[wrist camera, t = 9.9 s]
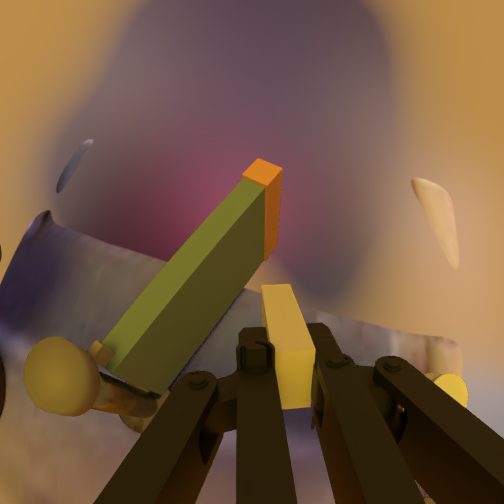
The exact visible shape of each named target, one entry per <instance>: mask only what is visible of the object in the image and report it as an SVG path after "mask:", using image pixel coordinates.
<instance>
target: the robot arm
mask: <svg viewBox="0 0 504 504" xmlns="http://www.w3.org/2000/svg"><path fill="white" fill-rule="evenodd" d="M0 260H1V246H0ZM261 295H262V327H252V328H243V329H242V330H241V332H240V333H239V345H238V346H237V348H236V358H237V370H236V371H235V372H234V373H233V374H231V375H229V376H226V377H223V378H219V379H217V378H216V376H215V375H213V374H212V373H209V372H206V371H194V372H190V373H187V374H185V375H183V376H182V377H181V378H180V379H179V381H178V382H177V384H176V385H175V387H174V388H173V390H172V391H171V393H170V394H169V395H168V397H167V398H166V400H165V401H164V403H163V404H162V406H161V407H160V409H159V410H158V412H157V413H156V414H155V416H154V417H153V419H152V420H151V422H150V423H149V425H148V426H147V427H146V429H145V430H144V432H143V433H142V435H141V436H140V438H139V439H138V440H137V442H136V443H135V445H134V446H133V448H132V449H131V451H130V452H129V453H128V455H127V456H126V458H125V459H124V461H123V462H122V463H121V465H120V466H119V468H118V469H117V471H116V472H115V473H114V475H113V476H112V478H111V479H110V481H109V482H108V483H107V485H106V486H105V488H104V489H103V491H102V492H101V493H100V495H99V496H98V498H97V499H96V500H95V502H94V503H93V504H195V502H196V499H197V497H198V495H199V493H200V490H201V488H202V486H203V483H204V481H205V479H206V476H207V474H208V472H209V469H210V467H211V465H212V462H213V460H214V458H215V455H216V453H217V450H218V448H219V446H220V443H221V441H222V438H223V434H224V432H228V431H231V430H235V429H237V443H236V504H297V498H296V492H295V486H294V479H293V473H292V467H291V461H290V455H289V449H288V443H287V437H286V430H285V424H284V418H283V412H282V409H294V408H305V407H311V397H312V401H313V404H314V407H313V416H312V424H311V429H314V425H315V426H316V430H317V433H318V437H319V441H320V445H321V449H322V452H323V456H324V460H325V464H326V468H327V472H328V476H329V480H330V483H331V487H332V491H333V495H334V499H335V503H336V504H426V503H425V501H424V499H423V497H422V495H421V493H420V491H419V488H418V486H417V484H416V482H415V480H416V481H417V483H418V484H419V485H420V486H421V487H422V488H423V489H424V490H425V492H426V493H427V494H428V495H429V496H430V497H431V498H432V499H433V501H434V502H435V503H436V504H504V439H503V438H502V437H501V436H499V435H498V434H497V433H496V432H495V431H493V430H492V429H491V428H490V427H488V426H487V425H486V424H485V423H483V422H482V421H481V420H480V419H479V418H477V417H476V416H475V415H473V414H472V413H471V412H470V411H469V410H467V409H466V408H465V407H464V406H462V405H461V404H460V403H459V402H457V401H456V400H455V399H454V398H452V397H451V396H450V395H449V394H447V393H446V392H445V391H444V390H442V389H441V388H440V387H439V386H437V385H436V384H435V383H434V382H432V381H431V380H430V379H429V378H427V377H426V376H425V375H424V374H422V373H421V372H420V371H418V370H417V369H416V368H415V367H413V366H412V365H411V364H410V363H408V362H407V361H406V360H404V359H402V358H400V357H396V356H384V357H381V358H379V359H377V361H376V362H375V366H374V367H370V366H359V365H355V363H354V361H353V359H352V358H351V357H350V356H348V355H346V354H342V352H341V350H340V348H339V346H338V345H337V343H336V341H335V340H334V337H333V335H332V333H331V331H330V329H329V327H327V326H326V325H324V324H323V323H310V324H305V321H304V319H303V316H302V313H301V311H300V308H299V306H298V304H297V301H296V298H295V296H294V293H293V291H292V288H291V286H290V284H276V285H275V284H274V285H261ZM4 394H5V379H4V370H3V365H2V361H1V358H0V415H1V411H2V407H3V402H4ZM399 405H400V406H401V407H403V408H404V411H402V410H401V409H400V408H399ZM414 479H415V480H414Z"/></svg>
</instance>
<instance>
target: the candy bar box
mask: <svg viewBox="0 0 504 504" xmlns="http://www.w3.org/2000/svg"><path fill="white" fill-rule="evenodd" d="M423 499H424V501H425V503H426V504H436V503H435V502H434V501H433V499H432V498H430V497H425V498H423Z"/></svg>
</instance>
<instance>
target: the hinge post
mask: <svg viewBox="0 0 504 504" xmlns="http://www.w3.org/2000/svg"><path fill="white" fill-rule="evenodd" d="M99 374H100V391H99V395H98V398H97V400H96V402H95V403H94V405H93V406H92V407H91V409H95V410H99V411H104V412H109V413H115V414H119V416H120V418H121V420H122V421H123V422H124V424H125V425H126V426H127V427H129V428H130V429H132V430H133V431H135V432H138V433H143V432H144V430H145V429H146V427H147V426H148V425H149V423H150V422H151V420H152V419H153V417H154V416H155V414H156V413H157V412H158V410H159V409H160V407H161V406H162V404H163V403H164V401H165V400H166V398H167V397H168V395H169V394H170V393H171V391H170V389H169V388H167V390H166V391H165V392H164V394H163V395H160V394H157V393H155V392H152V391H150V390H147V389H145V388H142V387H140V386H138V385H135V384H133V383H131V382H128V381H127V382H126V383H125V382H122V381H120V380H118V379H115V378H113V377H111V376H109V375H106V374H104V373H102V372H100V371H99Z"/></svg>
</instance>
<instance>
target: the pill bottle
mask: <svg viewBox="0 0 504 504" xmlns="http://www.w3.org/2000/svg"><path fill="white" fill-rule="evenodd" d="M424 375H425V376H426V377H427V378H429V379H430V380H431V381H432V382H434V383H435V384H436V385H437V386H439V387H440V388H441V389H442V390H444V391H445V392H446V393H447V394H449V395H450V396H451V397H452V398H454V399H455V400H456V401H457V402H459V403H460V404H461V405H462V406H464V407H465V408H466V405H467V401H468V391H467V387H466V385H465V383H464V381H463V380H462V379H461V378H460V377H459V376H457V375H455V374H450V373H449V374H443V375H442V374H438V373H427V374H424ZM399 408H400V409H401V410H402V411H404V408H403V407H401V406H400V405H399Z"/></svg>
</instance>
